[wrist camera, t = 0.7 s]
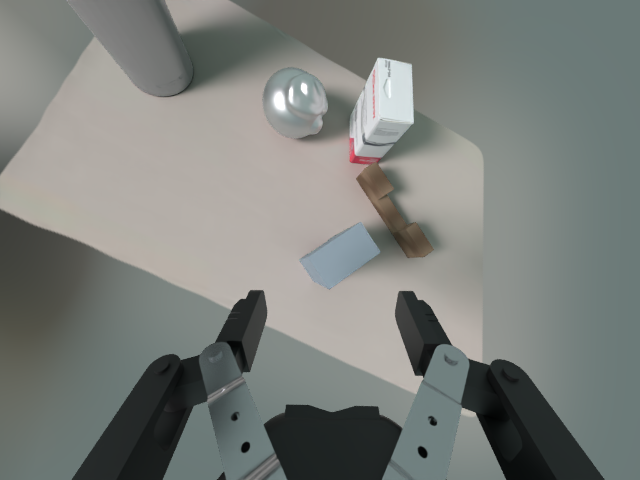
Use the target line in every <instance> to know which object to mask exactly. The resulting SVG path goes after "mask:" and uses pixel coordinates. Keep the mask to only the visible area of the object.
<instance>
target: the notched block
mask: <svg viewBox="0 0 640 480" xmlns="http://www.w3.org/2000/svg"><path fill="white" fill-rule="evenodd" d="M379 253H380V250H379V249H378V247H377V246H376V244H375V242H374V241H373V239H372V238H371V236H370V235H369V233H368V232H367V230H366V229H365V227H364V226H363V224H362V223H361V222H359V223H358V224H356V225H354V226H352V227H350V228H348V229H346V230H344V231H343V232H341V233H339V234H337V235H335V236H334V237H332V238H331V239H329V240H328V241H327V242H326V243H324V244H323V245H321V246H320V247H318V248H317V249H315V250H314V251H312V252H311V253H309V254H307V255H305V256H304V257H302V258H301V259H299V260H300V262H301V263H302V265H303V266H304V268H305V269H306V271H307V273H308V274H309V276H310V277H311V279H312V280H313V281H314V282H316V283H318V284H320V285H322V286H324V287H326V288H327V289H331V288H332V287H333V286H335V285H336V284H338V283H339V282H340V281H342V280H343V279H344V278H346V277H347V276H349V275H350V274H351V273H353V272H354V271H356V270H357V269H358V268H360V267H361V266H362V265H364V264H365V263H367V262H368V261H369V260H371V259H372V258H374V257H375V256H376V255H378V254H379Z"/></svg>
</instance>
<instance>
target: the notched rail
mask: <svg viewBox="0 0 640 480" xmlns="http://www.w3.org/2000/svg"><path fill="white" fill-rule="evenodd" d="M356 180H357V181H358V183H359V184H360V186H361V187H362V189H363V190H364V192H365V193H366V195H367V196H368V198H369V199H370V201H371V202H372V204H373V206H374V207H375V209H376V210H377V212H378V213H379V215H380V216H381V218H382V219H383V221H384V222H385V224H386V225H387V227H388V228H389V230H390V231H391V233H392V234H393V236H394V237H395V239H396V240H397V242H398V243H399V245H400V247H401V248H402V250H403V251H404V253H405V254H406V256H407V257H408V258H414V257H425V256H426V255H428V254H429V253H430V252H432V251H433V250H434V249H433V247H432V246H431V244H430V243H429V241H428V240H427V238H426V237H425V235H424V234H423V232H422V231H421V229H420V228H419V226H418V224H417V223H416V222H415V223H411V224H408V225H407V224H406V223H405V221H404V220H403V218H402V217H401V215H400V214H399V212H398V211H397V209H396V208H395V206H394V205H393V203H392V201H391V200H390V198H389V197H388V195H387V193H389V192H390V191H392V190H393V189H394V188H393V186H392V185H391V183H390V182H389V180H388V179H387V177H386V176H385V174H384V173H383V171H382V170H381V168H380V167H379V165H378V164H377V162H374V163H373V164H371V165H369V166H368V167H366V168H365V169H364V170H363V171H362V173H361V174H360V175H359V176H358V177H357V178H356Z"/></svg>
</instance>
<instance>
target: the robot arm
mask: <svg viewBox="0 0 640 480" xmlns="http://www.w3.org/2000/svg"><path fill="white" fill-rule="evenodd" d="M66 1H67V2H68V3H69V4H70V6H71V7H72V8H73V9H74V11H75V12H76V13H77V14H78V16H79V17H80V18H81V19H82V21H83V22H84V23H85V24H86V25H87V27H88V28H89V29H90V30H91V32H92V33H93V34H94V35H95V37H96V38H97V39H98V40H99V41H100V43H101V44H102V45H103V46H104V48H105V49H106V50H107V51H108V53H109V54H110V55H111V56H112V57H113V59H114V60H115V61H116V63H117V64H118V65H119V66H120V68H121V69H122V70H123V71H124V72H125V74H126V75H127V76H128V77H129V79H130V80H131V81H132V82H133V83H134V84H135V85H136V86H137V87H138V88H139V89H141V90H142V91H144V92H146V93H148V94H151V95H155V96H171V95H175V94H178V93H179V92H181V91H183V90H184V89H185V88H186V87H187V86H188V85H189V84H190V82H191V80H192V77H193V65H192V62H191V60H190V57H189V55H188V53H187V50H186V48H185V46H184V44H183V41H182V39H181V37H180V34H179V32H178V30H177V27H176V25H175V23H174V21H173V18H172V16H171V14H170V12H169V9H168V7H167V5H166V3H165V0H66ZM395 317H396V322H397V325H398V328H399V331H400V333H401V336H402V339H403V342H404V345H405V348H406V351H407V353H408V356H409V359H410V362H411V365H412V368H413V371H414V373H415V376H423V378H424V379H423V380H422V382H421V385H420V387H419V390H418V392H417V395H416V397H415V400H414V402H413V405H412V407H411V410H410V412H409V415H408V417H407V420H406V422H405V425H404V427H403V428H401V427H400V426H399V425H398V424H396V423H395V422H393V421H392V420H391V419H389V418H387V417H385V416H382V415H379V409H378V407H374V406H354V407H350V408H347V409H343V410H340V411H336V412H328V411H325V410H322V409H319V408H316V407H313V406H310V405H286V410H285V413H282V414H279V415H277V416H275V417H273V418H272V419H270V420H269V421H267V422H266V423H265V424H264V425H263V423H262V420H261V418H260V415H259V413H258V411H257V408H256V406H255V403H254V401H253V399H252V396H251V394H250V391H249V389H248V386H247V384H246V382H245V379H244V378H243V377H242V373H243V372H250V370H251V367H252V364H253V361H254V357H255V354H256V351H257V348H258V344H259V341H260V338H261V335H262V332H263V329H264V325H265V322H266V319H267V306H266V301H265V295H264V291H263V290H250V291H249V293H248V296H247V298H246V299H240V300H239V301H238V302H237V303H236V304H235V305H234V307H233V309H232V311H231V313H230V314H229V316H228V319H227V320H226V323H225V324H224V326H223V328H222V330H221V332H220V334H219V336H218V338H217V340H216V342H215V343H213V344H211V345H209V346H208V347H206V348H205V349H204V350H203V352H202V353H201V354H200V355H198V356H195V357H191V358H187V359H184V360H180V358H179V357H178V356H177V355H174V354H169V355H165V356H162V357H160V358H158V359H157V360H155V361H154V362H153V363H152V364H150V365H149V367H148V368H147V369H146V371H145V372H144V374H143V375H142V377H141V378H140V380H139V381H138V383H137V384H136V385H135V387H134V388H133V390H132V391H131V393H130V395H129V396H128V397H127V399H126V400H125V402H124V403H123V405H122V406H121V408H120V409H119V411H118V412H117V414H116V415H115V416H114V418H113V420H112V421H111V422H110V424H109V425H108V427H107V428H106V430H105V431H104V433H103V434H102V436H101V437H100V439H99V440H98V442H97V443H96V445H95V446H94V448H93V449H92V451H91V452H90V453H89V455H88V456H87V458H86V459H85V461H84V462H83V464H82V465H81V467H80V468H79V470H78V471H77V473H76V474H75V476H74V477H73V478H72V480H163V477H164V475H165V473H166V470H167V468H168V465H169V463H170V461H171V458H172V456H173V453H174V451H175V449H176V447H177V444H178V442H179V439H180V437H181V435H182V432H183V430H184V428H185V425H186V423H187V420H188V418H189V416H190V413H191V411H192V409H193V406H194V405H197V404H200V403H203V402H206V401H207V402H208V407H209V411H210V415H211V419H212V423H213V427H214V431H215V435H216V439H217V443H218V448H219V452H220V455H221V460H222V464H223V468H224V472H223V473H222V474H221V476H220V477H219V478H218V479H217V480H446V476H447V472H448V467H449V463H450V459H451V454H452V450H453V445H454V441H455V436H456V432H457V427H458V423H459V418H460V414H461V409H462V408H465V409H468V410H471V411H473V412H475V413H476V415H477V417H478V419H479V421H480V423H481V426H482V428H483V430H484V432H485V434H486V437H487V439H488V441H489V443H490V445H491V447H492V450H493V452H494V454H495V456H496V458H497V460H498V463H499V465H500V467H501V469H502V471H503V474H504V476H505V478H506V480H604V478H603V477H602V476H601V474H600V473H599V472H598V470H597V469H596V467H595V466H594V465H593V463H592V462H591V460H590V459H589V458H588V456H587V455H586V454H585V452H584V451H583V450H582V448H581V447H580V446H579V444H578V443H577V441H576V440H575V439H574V437H573V436H572V435H571V433H570V432H569V431H568V430H567V428H566V427H565V425H564V424H563V422H562V421H561V420H560V418H559V417H558V416H557V414H556V413H555V412H554V410H553V409H552V408H551V406H550V405H549V404H548V402H547V401H546V399H545V398H544V397H543V395H542V394H541V393H540V391H539V390H538V389H537V387H536V386H535V384H534V383H533V382H532V380H531V379H530V378H529V376H528V375H527V374H526V373H525V372H524V371H523V370H522V369H521V368H520V367H518V366H517V365H515V364H513V363H511V362H509V361H506V360H501V359H499V360H498V359H497V360H494V361H492V363H491V365H487V364H484V363H480V362H477V361H473V360H470V359H468V358H467V357H466V355H465V354H464V353H463V352H462V351H461V350H459V349H458V348H456V347H454V346H452V344H451V342H450V341H449V339H448V337H447V335H446V333H445V332H444V330H443V328H442V326H441V325H440V323H439V322H438V319H437V318H436V316H435V314H434V312H433V310H432V309H431V307H430V306H429V305H428V304H427V303H426V302H424V301H423V300H418V299H417V297H416V295H415V293H414V292H413V291H399V293H398V298H397V304H396V309H395Z"/></svg>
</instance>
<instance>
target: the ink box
mask: <svg viewBox="0 0 640 480" xmlns="http://www.w3.org/2000/svg"><path fill="white" fill-rule="evenodd" d="M413 123H414V109H413V83H412V64H410V63H405V62H400V61H395V60H389V59H384V58H378V59H377V61H376V63H375V66H374V68H373V70H372V72H371V74H370V76H369V78H368V80H367V82H366V85H365V87H364V89H363V91H362V93H361V95H360V97H359V99H358V101H357V103H356V105H355V107H354V110H353V112H352V114H351V116H350V162H351V163H359V164H373V163H374V162H378V161H379V160H380V159H381V158H382V157H383V156H384V155H385V154H386V153H387V152H388V150H389V149H390V148H391V147H392V146H393V145H394V144H395V143H396V142H397V141H398V140H399V138H400V137H401V136H402V135H403V134H404V133H405V132H406V131H407V130H408V129H409V128H410V127H411V126H412V124H413Z"/></svg>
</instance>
